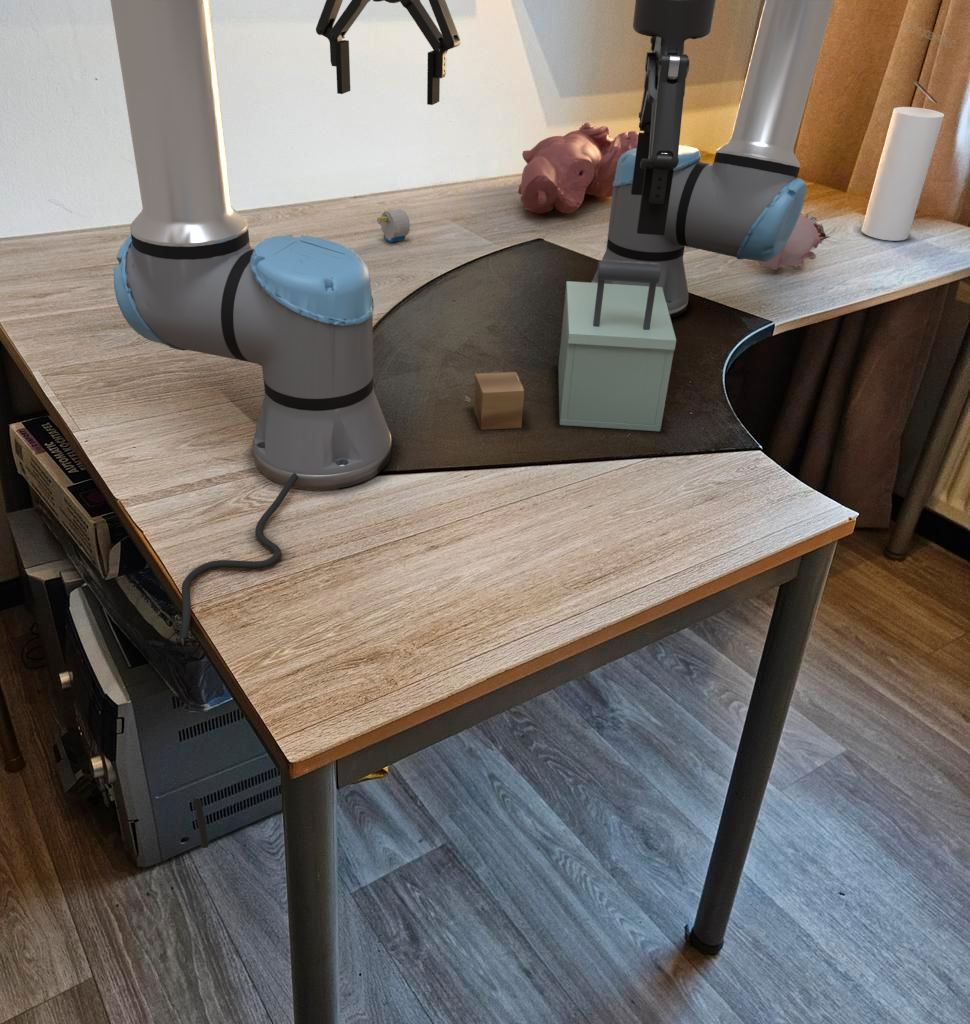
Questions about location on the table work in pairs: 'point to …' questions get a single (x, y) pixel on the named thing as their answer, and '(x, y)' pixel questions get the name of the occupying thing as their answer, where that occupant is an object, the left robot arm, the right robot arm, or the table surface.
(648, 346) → the lid
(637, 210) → the right robot arm
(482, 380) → the block
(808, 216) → the toy
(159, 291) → the left robot arm
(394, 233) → the electric motor
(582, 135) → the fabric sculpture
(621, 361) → the chest
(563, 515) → the table surface
